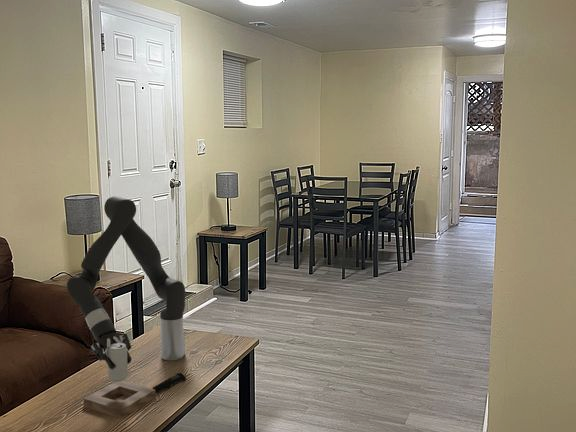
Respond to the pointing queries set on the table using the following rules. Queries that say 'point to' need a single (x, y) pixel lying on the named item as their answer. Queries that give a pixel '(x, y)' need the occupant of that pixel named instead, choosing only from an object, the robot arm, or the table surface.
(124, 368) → the beverage can
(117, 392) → the hole board
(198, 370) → the table surface
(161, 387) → the electric trimmer
